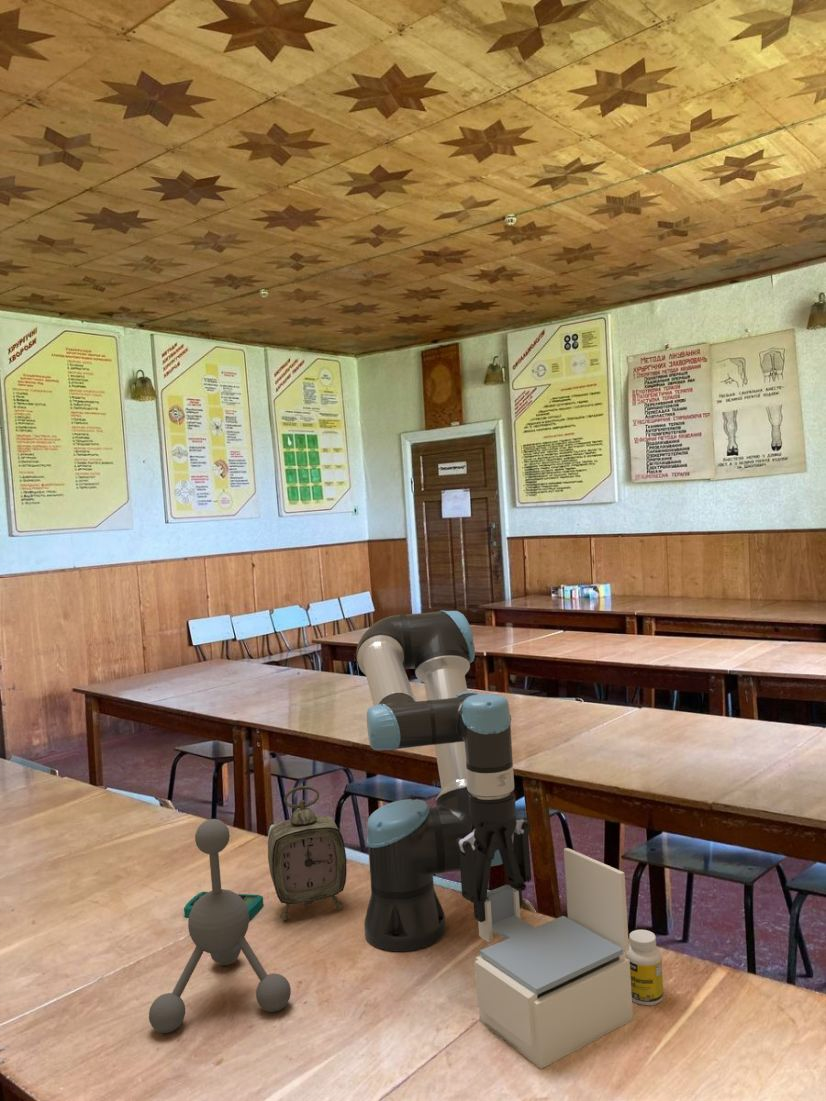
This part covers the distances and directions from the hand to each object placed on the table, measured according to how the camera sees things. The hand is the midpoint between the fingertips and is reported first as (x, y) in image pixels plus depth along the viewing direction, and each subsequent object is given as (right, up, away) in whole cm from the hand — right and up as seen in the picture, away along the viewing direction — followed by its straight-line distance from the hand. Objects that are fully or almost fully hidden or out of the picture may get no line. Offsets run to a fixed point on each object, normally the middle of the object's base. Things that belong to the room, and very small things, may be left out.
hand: (500, 932), depth 139 cm
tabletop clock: (-35, -10, +32) cm, 48 cm away
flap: (+5, +1, -8) cm, 9 cm away
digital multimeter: (-52, -11, +34) cm, 63 cm away
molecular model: (-47, -12, +1) cm, 48 cm away
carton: (+7, -9, -10) cm, 15 cm away
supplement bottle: (+22, -8, -6) cm, 24 cm away
